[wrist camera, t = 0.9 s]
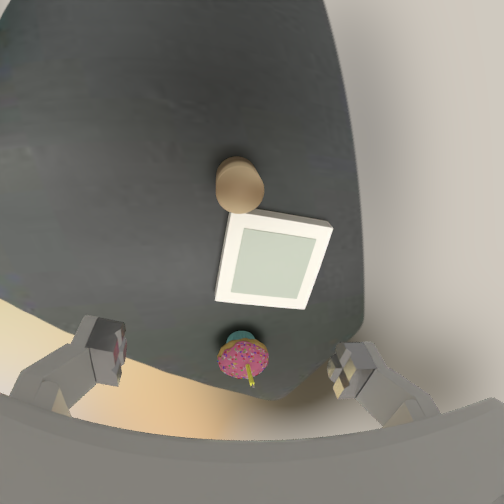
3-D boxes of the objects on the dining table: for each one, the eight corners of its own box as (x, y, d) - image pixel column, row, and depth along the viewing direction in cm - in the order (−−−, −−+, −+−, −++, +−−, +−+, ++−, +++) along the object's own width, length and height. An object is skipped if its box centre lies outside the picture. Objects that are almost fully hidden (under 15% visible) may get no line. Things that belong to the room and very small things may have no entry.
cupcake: (225, 317, 49) (229, 373, 39) (273, 327, 51) (286, 382, 41) (211, 351, 53) (212, 405, 42) (254, 360, 55) (263, 412, 44)
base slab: (230, 204, 40) (231, 211, 38) (327, 221, 43) (333, 228, 41) (214, 291, 46) (215, 301, 44) (300, 299, 49) (304, 310, 47)
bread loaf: (219, 153, 37) (220, 164, 31) (260, 160, 38) (268, 172, 32) (213, 191, 39) (212, 210, 33) (251, 197, 40) (258, 217, 34)
